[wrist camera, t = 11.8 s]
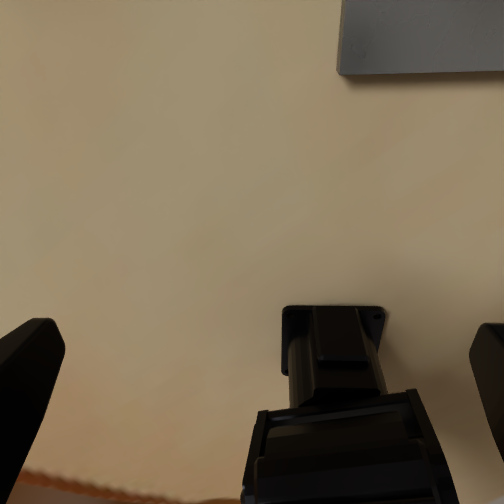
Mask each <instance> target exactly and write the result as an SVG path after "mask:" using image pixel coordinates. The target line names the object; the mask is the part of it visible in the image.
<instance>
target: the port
mask: <svg viewBox="0 0 504 504" xmlns="http://www.w3.org/2000/svg"><path fill="white" fill-rule="evenodd" d="M336 71H337V72H338V74H339V75H357V74H394V73H432V72H469V71H504V0H342V7H341V19H340V31H339V43H338V56H337V68H336Z"/></svg>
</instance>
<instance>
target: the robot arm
mask: <svg viewBox="0 0 504 504" xmlns="http://www.w3.org/2000/svg"><path fill="white" fill-rule="evenodd" d="M287 313H292V314H287ZM375 314H378V315H375ZM384 321H385V312H384V309H383V308H381V307H378V306H286V307H284V308H283V310H282V354H281V372H282V374H283V375H285V376H289V401H290V408H288V409H281V410H275V411H268V410H263V411H258V415H257V420H256V424H255V425H254V429H253V434H252V439H251V444H250V448H249V453H248V458H247V463H246V467H245V472H244V477H243V482H242V487H243V490H242V492H241V496H240V500H241V504H459V500H458V497H457V493H456V490H455V486H454V483H453V480H452V476H451V473H450V470H449V467H448V464H447V461H446V459H445V456H444V453H443V451H442V448H441V446H440V443H439V441H438V438H437V436H436V434H435V431H434V429H433V427H432V424H431V422H430V420H429V417H428V415H427V413H426V410H425V408H424V406H423V403H422V401H421V399H420V396H419V394H418V392H417V389H416V388H415V389H408V390H406V392H400V393H393V394H388V391H387V388H386V384H385V381H384V377H383V373H382V370H381V366H380V362H379V359H378V355H377V353H378V348H379V344H380V339H381V335H382V330H383V326H384ZM64 355H65V343H64V340H63V338H62V336H61V334H60V331H59V329H58V327H57V325H56V323H55V321H54V320H53V319H51V318H32V319H30V320H28V321H27V322H25V323H24V324H22V325H21V326H19V327H18V328H16V329H15V330H13V331H11V332H10V333H8V334H7V335H5V336H4V337H2V338H1V339H0V504H6V502H7V500H8V498H9V495H10V493H11V491H12V489H13V486H14V484H15V482H16V480H17V477H18V475H19V473H20V471H21V468H22V466H23V464H24V462H25V459H26V457H27V455H28V453H29V451H30V448H31V446H32V444H33V442H34V439H35V437H36V435H37V433H38V430H39V428H40V426H41V423H42V421H43V418H44V415H45V413H46V410H47V407H48V404H49V401H50V398H51V395H52V392H53V389H54V386H55V383H56V380H57V376H58V373H59V370H60V367H61V364H62V361H63V358H64ZM469 359H470V363H471V367H472V370H473V373H474V377H475V380H476V383H477V387H478V390H479V393H480V397H481V400H482V403H483V407H484V410H485V413H486V417H487V420H488V423H489V426H490V429H491V432H492V435H493V437H494V440H495V442H496V445H497V447H498V450H499V452H500V454H501V457H502V459H503V462H504V323H483V324H482V325H480V327H479V329H478V331H477V333H476V336H475V338H474V341H473V343H472V346H471V348H470V352H469Z"/></svg>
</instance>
